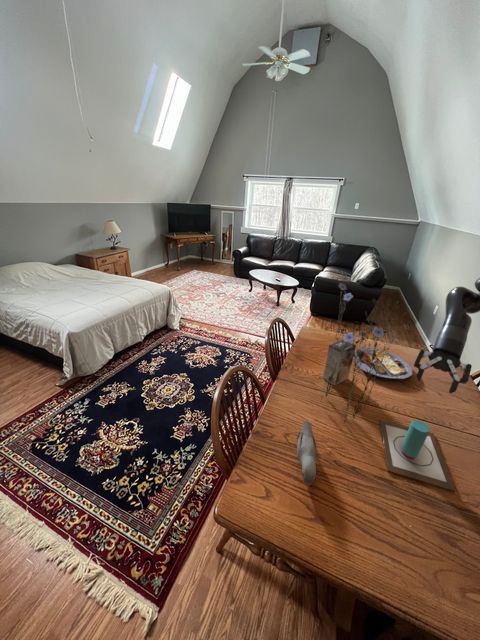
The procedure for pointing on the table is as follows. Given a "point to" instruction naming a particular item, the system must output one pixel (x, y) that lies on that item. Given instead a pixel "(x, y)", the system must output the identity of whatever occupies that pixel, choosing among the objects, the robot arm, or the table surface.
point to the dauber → (414, 439)
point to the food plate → (383, 363)
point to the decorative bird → (307, 453)
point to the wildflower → (349, 339)
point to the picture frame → (422, 467)
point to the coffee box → (343, 365)
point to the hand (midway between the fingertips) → (434, 386)
